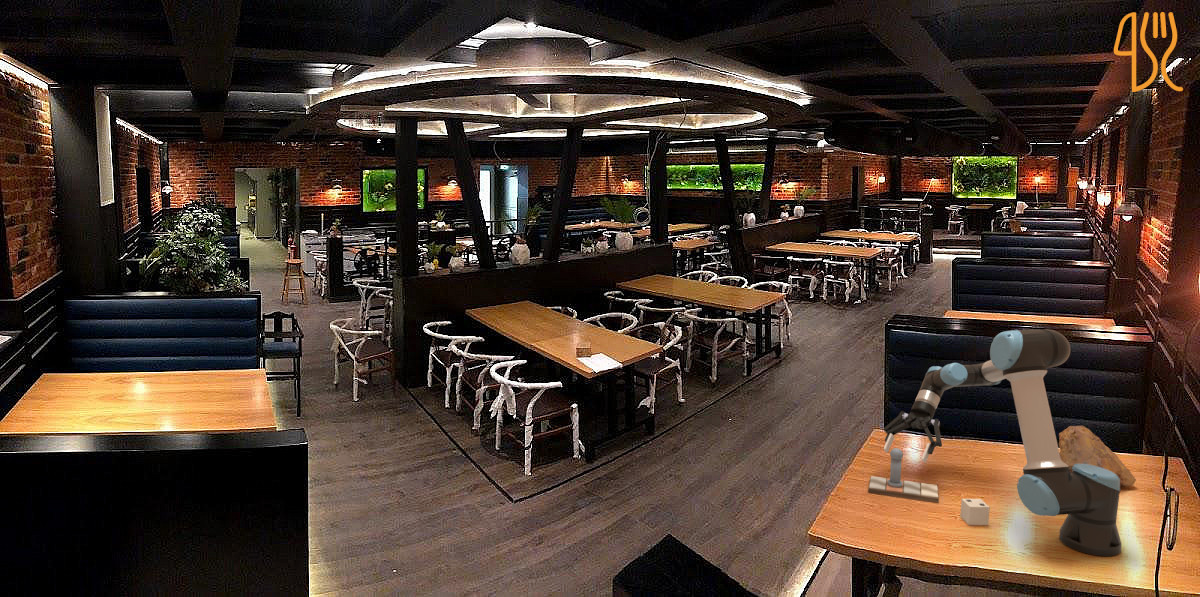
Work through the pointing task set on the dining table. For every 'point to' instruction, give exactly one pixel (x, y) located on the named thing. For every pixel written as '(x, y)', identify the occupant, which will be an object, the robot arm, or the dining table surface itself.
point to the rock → (1091, 453)
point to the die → (975, 511)
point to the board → (904, 489)
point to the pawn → (895, 468)
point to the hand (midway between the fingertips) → (904, 455)
